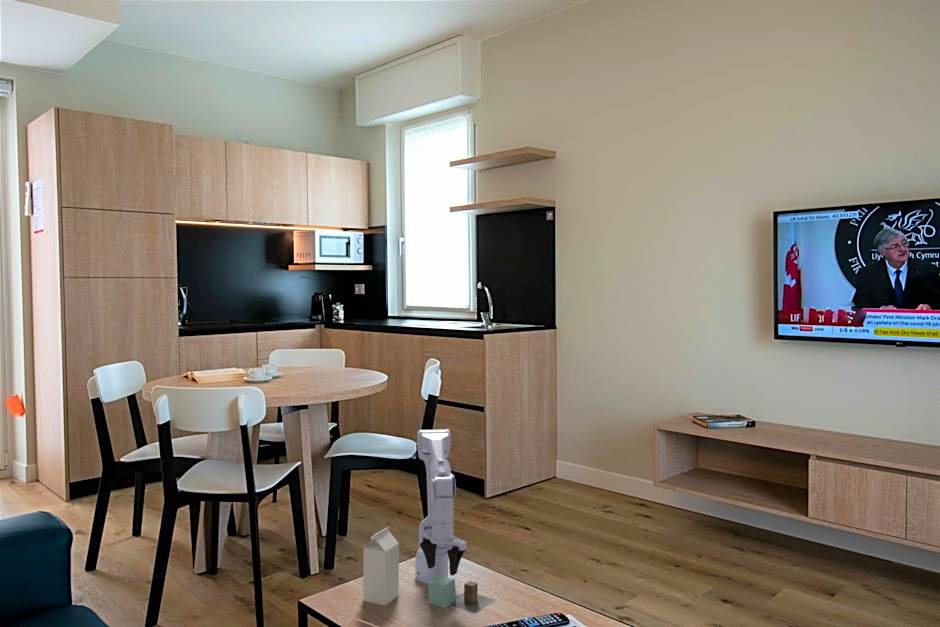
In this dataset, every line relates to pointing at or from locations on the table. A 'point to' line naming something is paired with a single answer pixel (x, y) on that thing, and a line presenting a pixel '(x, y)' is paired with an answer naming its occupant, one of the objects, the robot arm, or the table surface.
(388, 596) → the milk carton
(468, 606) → the peg stand
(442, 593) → the mint green cube
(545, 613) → the table surface
